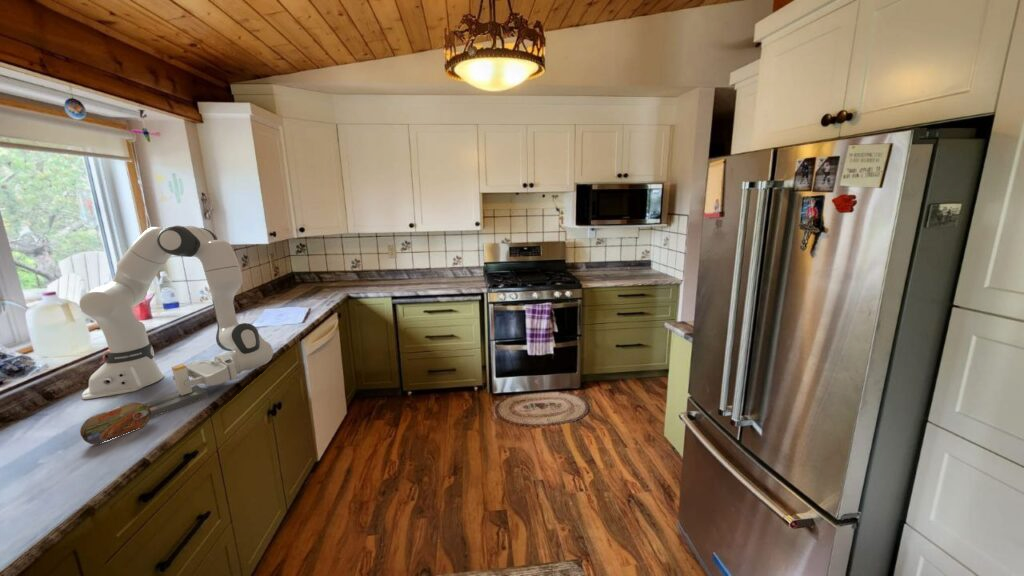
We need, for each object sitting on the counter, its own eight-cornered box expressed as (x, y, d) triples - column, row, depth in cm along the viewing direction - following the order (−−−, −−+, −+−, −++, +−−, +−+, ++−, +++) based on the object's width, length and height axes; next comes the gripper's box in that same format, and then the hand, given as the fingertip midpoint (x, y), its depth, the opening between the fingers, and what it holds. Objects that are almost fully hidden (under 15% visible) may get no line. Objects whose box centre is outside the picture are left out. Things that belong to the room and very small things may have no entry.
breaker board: (142, 421, 127) (140, 415, 126) (132, 413, 132) (131, 407, 131) (208, 396, 141) (207, 390, 141) (197, 390, 146) (196, 384, 146)
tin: (86, 450, 113) (77, 423, 111) (83, 447, 115) (74, 420, 113) (154, 423, 125) (147, 398, 123) (150, 421, 127) (143, 396, 125)
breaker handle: (181, 395, 137) (174, 368, 135) (178, 393, 139) (171, 367, 137) (192, 391, 140) (185, 365, 138) (188, 389, 141) (182, 363, 139)
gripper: (210, 353, 154) (165, 366, 143) (235, 363, 143) (188, 379, 131) (214, 368, 155) (170, 383, 144) (239, 379, 144) (193, 396, 133)
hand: (179, 381), depth 138 cm, fingers open, 8 cm apart
